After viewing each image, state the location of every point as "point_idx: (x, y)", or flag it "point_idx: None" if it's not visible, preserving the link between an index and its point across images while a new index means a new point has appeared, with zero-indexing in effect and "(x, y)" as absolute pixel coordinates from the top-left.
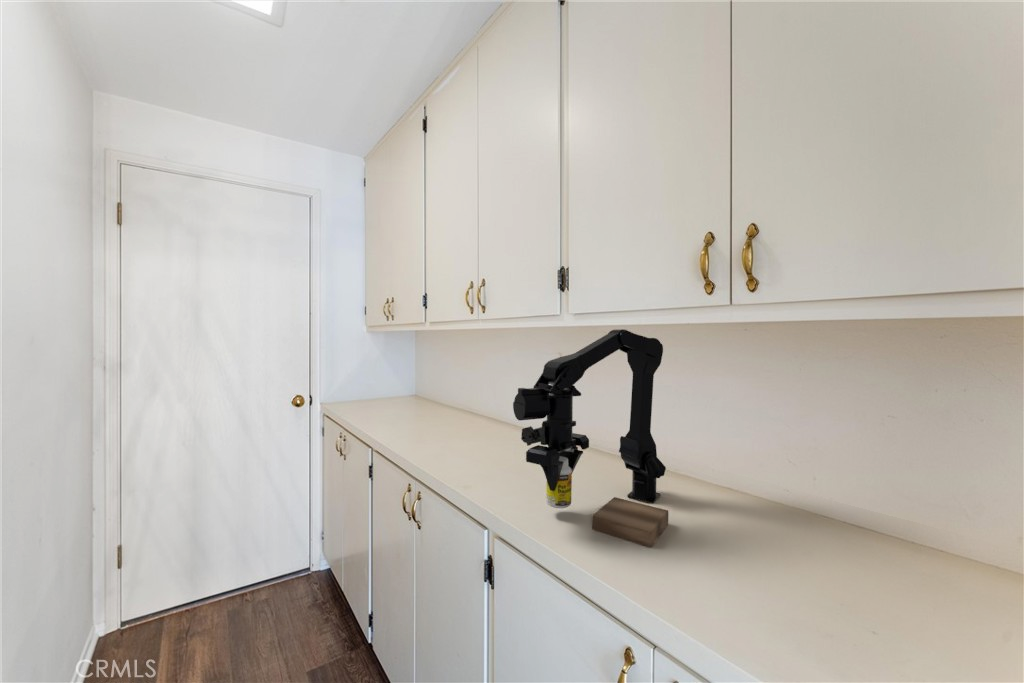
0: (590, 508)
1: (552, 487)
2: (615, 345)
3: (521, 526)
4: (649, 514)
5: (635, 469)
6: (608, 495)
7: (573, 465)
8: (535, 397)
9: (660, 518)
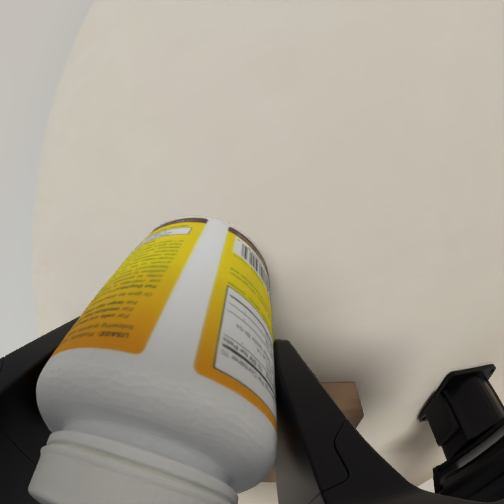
0: (340, 328)
1: None
2: None
3: (46, 177)
4: (273, 472)
5: (484, 440)
6: (461, 330)
7: (280, 502)
8: None
9: (263, 481)
